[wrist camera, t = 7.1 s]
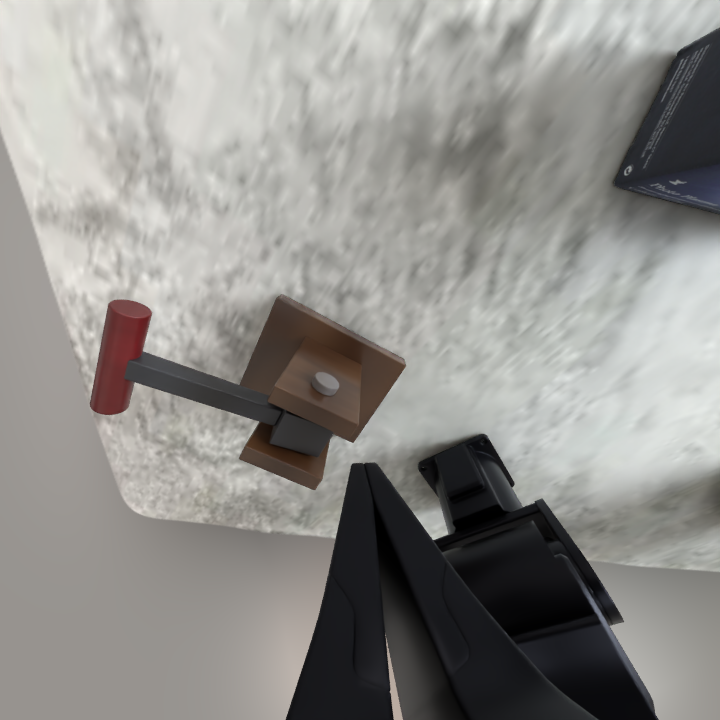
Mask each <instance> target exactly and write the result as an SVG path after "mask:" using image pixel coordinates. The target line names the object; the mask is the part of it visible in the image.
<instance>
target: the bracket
mask: <svg viewBox="0 0 720 720" xmlns="http://www.w3.org/2000/svg"><path fill="white" fill-rule="evenodd" d="M405 367H406V364H405V361H404V359H402V358H401V357H399V356H397V355H395V354H393V353H391V352H389V351H387V350H386V349H384V348H382V347H380V346H378V345H376V344H374V343H373V342H371V341H369V340H367V339H365V338H363V337H361V336H359V335H358V334H356V333H354V332H352V331H350V330H348V329H346V328H344V327H343V326H341V325H339V324H337V323H335V322H333V321H331V320H330V319H328V318H326V317H324V316H322V315H320V314H318V313H316V312H315V311H313V310H311V309H309V308H307V307H305V306H303V305H301V304H300V303H298V302H296V301H294V300H292V299H290V298H288V297H286V296H285V295H280V296H278V297H277V298H276V300H275V303H274V305H273V307H272V310H271V312H270V314H269V317H268V319H267V322H266V324H265V326H264V329H263V331H262V333H261V336H260V338H259V340H258V343H257V345H256V347H255V350H254V352H253V354H252V357H251V359H250V361H249V364H248V366H247V368H246V371H245V373H244V375H243V378H242V380H241V382H240V386H243V387H246V388H249V389H252V390H255V391H258V392H260V393H263V394H266V395H269V397H268V399H267V401H268V402H269V403H272V404H274V405H276V406H278V407H280V408H282V409H285V410H287V411H289V412H291V413H293V414H295V415H298V416H300V417H302V418H304V419H306V420H309V421H311V422H313V423H315V424H317V425H319V426H322V427H324V428H326V429H328V430H330V431H332V432H334V433H333V434H335V435H337V436H339V437H341V438H343V439H346V440H348V441H350V442H352V443H354V441H355V440H356V438H357V437H358V435H359V434H360V433H361V431H362V430H363V428H364V427H365V425H366V424H367V422H368V421H369V419H370V418H371V416H372V415H373V414H374V412H375V411H376V409H377V408H378V406H379V405H380V403H381V402H382V400H383V399H384V397H385V396H386V395H387V393H388V392H389V390H390V389H391V387H392V386H393V384H394V383H395V381H396V380H397V378H398V377H399V376H400V374H401V373H402V371H403V370H404V368H405ZM272 429H273V426H272V425H269V424H266V423H263V422H259V423H258V425H257V427H256V428H255V430H254V432H253V433H252V435H251V437H250V438H249V440H248V442H247V443H246V445H245V447H244V449H243V451H242V453H241V455H240V457H239V459H240V460H243V461H245V462H247V463H250V464H252V465H255V466H257V467H260V468H262V469H264V470H267V471H269V472H272V473H274V474H276V475H279V476H281V477H284V478H286V479H288V480H291V481H293V482H296V483H298V484H301V485H303V486H305V487H308V488H310V489H313V490H315V489H316V488H317V486H318V485H319V483H320V482H321V481H322V479H323V474H324V468H325V463H326V458H327V453H328V448H329V442H330V440H329V441H328V443H327V444H326V446H325V448H324V449H323V451H322V452H321V454H320V455H319V457H314V456H311V455H307V454H304V453H301V452H297V451H294V450H290V449H287V448H284V447H280V446H277V445H273V444H270V443H269V442H270V437H271V433H272Z"/></svg>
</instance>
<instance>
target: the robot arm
mask: <svg viewBox="0 0 720 720" xmlns="http://www.w3.org/2000/svg"><path fill="white" fill-rule="evenodd" d="M482 440H484V441H482ZM481 441H482V442H481ZM422 467H424V468H422ZM418 470H419V472H420V473H421V474H422V476H423V477H424V478H425V480H426V481H427V482H428V484H429V485H430V487H431V488H432V489H433V491H434V492H435V493H436V495H437V496H438V497H439V500H440V504H441V507H442V511H443V515H444V518H445V522H446V526H447V529H448V533H449V535H446V536H444V537H441V538H438V539H436V540H432V538H431V537H430V536H429V534H428V533H427V531H426V530H425V529H424V527H423V526H422V525H421V523H420V522H419V520H418V519H417V518H416V516H415V515H414V514H413V512H412V511H411V510H410V508H409V507H408V505H407V504H406V503H405V501H404V500H403V499H402V497H401V496H400V494H399V493H398V492H397V490H396V489H395V488H394V486H393V485H392V484H391V482H390V481H389V479H388V478H387V477H386V475H385V474H384V473H383V471H382V470H381V468H380V467H379V466H378V464H377V463H365V464H363V463H353V464H352V465H351V469H350V474H349V479H348V484H347V488H346V493H345V498H344V502H343V507H342V512H341V517H340V521H339V526H338V531H337V536H336V541H335V545H334V550H333V555H332V560H331V564H330V569H329V575H328V578H327V583H326V587H325V592H324V597H323V600H322V604H321V608H320V613H319V617H318V620H317V623H316V627H315V630H314V633H313V637H312V640H311V643H310V646H309V650H308V653H307V656H306V659H305V662H304V665H303V668H302V671H301V674H300V677H299V680H298V683H297V687H296V689H295V693H294V696H293V699H292V702H291V705H290V708H289V711H288V714H287V717H286V720H394V719H393V711H392V702H391V694H390V680H389V669H388V659H387V647H386V638H387V642H388V648H389V653H390V658H391V662H392V667H393V672H394V677H395V682H396V687H397V692H398V697H399V702H400V707H401V712H402V717H403V720H658V718H657V716H656V715H655V709H654V704H653V700H652V698H651V696H650V694H649V692H648V690H647V689H646V687H645V685H644V684H643V682H642V681H641V679H640V677H639V675H638V673H637V672H636V670H635V668H634V667H633V665H632V663H631V662H630V660H629V658H628V657H627V655H626V653H625V652H624V650H623V648H622V647H621V645H620V643H619V642H618V640H617V638H616V636H615V635H614V633H613V632H612V630H611V628H610V625H613V624H617V623H621V622H624V621H623V618H622V616H621V615H620V613H619V611H618V609H617V608H616V606H615V604H614V602H613V601H612V599H611V597H610V596H609V594H608V592H607V591H606V590H605V588H604V586H603V584H602V583H601V581H600V580H599V578H598V577H597V575H596V573H595V572H594V570H593V569H592V567H591V566H590V564H589V563H588V561H587V560H586V558H585V557H584V555H583V554H582V552H581V551H580V550H579V548H578V547H577V545H576V544H575V543H574V541H573V540H572V538H571V537H570V536H569V534H568V533H567V532H566V530H565V529H564V528H563V526H562V525H561V523H560V522H559V521H558V519H557V518H556V517H555V515H554V514H553V512H552V511H551V510H550V508H549V507H548V506H547V504H546V503H545V501H544V500H543V499H540V500H537V501H534V502H535V503H533V504H531V505H528V506H525V507H523V506H522V505H521V503H520V501H519V499H518V498H517V496H516V494H515V493H514V491H513V489H512V487H513V486H514V481H513V479H512V478H511V476H510V474H509V473H508V471H507V469H506V467H505V466H504V464H503V462H502V461H501V459H500V457H499V455H498V454H497V452H496V450H495V449H494V447H493V445H492V443H491V442H490V440H489V438H488V437H487V436H486V435H485V434H481V435H478V436H476V437H474V438H472V439H469V440H467V441H465V442H463V443H461V444H458V445H456V446H454V447H452V448H450V449H447V450H445V451H443V452H441V453H439V454H437V455H434V456H432V457H430V458H428V459H426V460H423V461H421V462H420V463H419V464H418ZM385 633H386V636H385Z"/></svg>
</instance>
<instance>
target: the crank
mask: <svg viewBox="0 0 720 720" xmlns="http://www.w3.org/2000/svg"><path fill="white" fill-rule="evenodd" d="M151 316H152V312H151V310H150V309H149V308H148V307H147V306H145V305H143V304H140V303H138V302H134V301H130V300H113V301H111V302H110V303H109V304H108V309H107V314H106V319H105V325H104V330H103V336H102V341H101V347H100V352H99V357H98V363H97V368H96V374H95V379H94V385H93V390H92V395H91V401H90V407H91V409H92V410H93V411H95V412H97V413H99V414H104V415H114V414H119V413H121V412H123V411H125V410H126V409H127V408H128V407H129V403H130V399H131V395H132V391H133V387H134V383H135V382H136V383H139V384H142V385H145V386H149V387H152V388H155V389H158V390H161V391H164V392H168V393H171V394H174V395H177V396H180V397H183V398H187V399H190V400H193V401H196V402H199V403H202V404H206V405H209V406H212V407H215V408H218V409H221V410H225V411H228V412H231V413H234V414H237V415H240V416H244V417H247V418H250V419H253V420H256V421H259V422H263V423H266V424H269V425H272V426H273V429H272V433H271V437H270V442H269V443H270V444H273V445H277V446H280V447H284V448H287V449H290V450H294V451H297V452H301V453H304V454H307V455H311V456H314V457H319V455H320V454H321V452H322V451H323V449H324V448H325V446H326V444H327V443H328V441H329V440H330V438H331V437H332V435H333V433H334V432H332V431H330V430H328V429H326V428H324V427H322V426H319V425H317V424H315V423H313V422H311V421H309V420H306V419H304V418H302V417H300V416H298V415H295V414H293V413H291V412H289V411H287V410H285V409H282V408H280V407H278V406H276V405H274V404H272V403H269V402H268V401H267V399H268V397H269V395H266V394H263V393H260V392H258V391H255V390H252V389H249V388H246V387H243V386H240V385H238V384H235V383H232V382H229V381H226V380H223V379H220V378H218V377H215V376H212V375H209V374H206V373H203V372H200V371H197V370H195V369H192V368H189V367H186V366H183V365H180V364H177V363H175V362H172V361H169V360H166V359H163V358H160V357H157V356H155V355H152V354H149V353H146V352H143V348H144V344H145V340H146V336H147V332H148V328H149V324H150V320H151Z"/></svg>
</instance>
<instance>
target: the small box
mask: <svg viewBox="0 0 720 720" xmlns="http://www.w3.org/2000/svg"><path fill="white" fill-rule="evenodd" d="M614 186H616V187H619V188H622V189H626V190H630V191H634V192H637V193H641V194H645V195H649V196H653V197H657V198H660V199H664V200H668V201H671V202H676V203H679V204H683V205H687V206H691V207H695V208H698V209H701V210H706V211H709V212H713V213H717V214H720V28H718V29H716V30H714V31H713V32H711V33H709V34H707V35H705V36H704V37H702V38H700V39H698V40H696V41H694V42H692V43H691V44H689V45H687V46H685V47H684V48H682V49H681V50H680V51H679V52H678V53H677V56H676V58H675V59H674V60H673V62H672V64H671V67H670V69H669V71H668V75H667V77H666V79H665V81H664V83H663V84H662V85H661V89H660V91H659V93H658V95H657V97H656V99H655V101H654V103H653V105H652V107H651V109H650V111H649V113H648V115H647V117H646V119H645V121H644V123H643V125H642V127H641V128H640V131H639V133H638V135H637V137H636V139H635V141H634V143H633V145H632V146H631V147H630V149H629V150H628V154H627V156H626V158H625V160H624V162H623V165H622V167H621V169H620V171H619V174H618V176H617V178H616V180H615V183H614Z"/></svg>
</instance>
